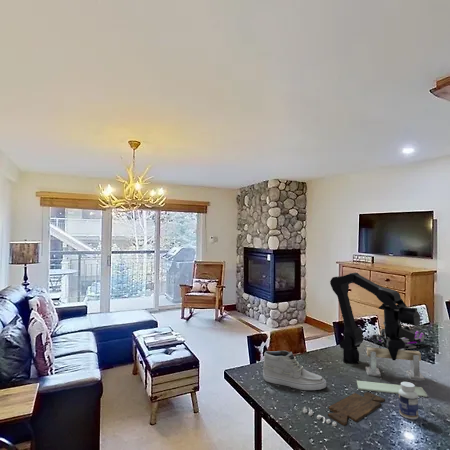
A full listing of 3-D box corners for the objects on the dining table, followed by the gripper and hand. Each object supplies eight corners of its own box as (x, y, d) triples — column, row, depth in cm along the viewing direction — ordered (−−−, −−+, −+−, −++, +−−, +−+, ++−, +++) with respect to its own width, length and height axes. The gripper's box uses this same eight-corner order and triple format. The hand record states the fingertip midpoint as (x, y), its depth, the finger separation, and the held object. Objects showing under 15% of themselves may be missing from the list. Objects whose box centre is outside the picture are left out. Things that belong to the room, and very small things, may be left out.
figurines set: (337, 425, 100) (337, 415, 100) (332, 429, 98) (332, 419, 98) (304, 410, 109) (303, 401, 109) (299, 413, 107) (298, 404, 107)
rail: (367, 356, 138) (367, 349, 138) (366, 354, 141) (366, 347, 141) (421, 361, 133) (420, 353, 133) (418, 358, 135) (418, 351, 136)
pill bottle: (395, 411, 107) (394, 381, 108) (411, 410, 107) (410, 380, 108) (406, 420, 102) (405, 388, 102) (422, 419, 102) (421, 387, 103)
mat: (358, 389, 123) (358, 388, 123) (356, 381, 130) (356, 380, 130) (427, 397, 117) (427, 395, 117) (421, 388, 123) (421, 387, 123)
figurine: (442, 339, 166) (400, 346, 156) (441, 352, 166) (399, 361, 157) (402, 324, 188) (363, 330, 178) (402, 336, 189) (363, 342, 179)
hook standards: (367, 375, 136) (366, 352, 137) (365, 369, 143) (364, 346, 143) (424, 380, 130) (423, 356, 131) (419, 374, 137) (418, 351, 137)
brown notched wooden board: (320, 416, 106) (348, 430, 98) (320, 411, 106) (348, 424, 98) (361, 392, 122) (388, 402, 114) (361, 387, 122) (388, 397, 114)
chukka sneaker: (325, 393, 120) (324, 360, 121) (259, 383, 130) (259, 352, 130) (327, 383, 129) (326, 353, 129) (265, 374, 138) (265, 346, 139)
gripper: (419, 327, 126) (421, 369, 126) (407, 317, 144) (408, 353, 143) (387, 326, 130) (389, 366, 129) (380, 315, 148) (381, 351, 147)
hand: (393, 358), depth 137 cm, fingers open, 3 cm apart
